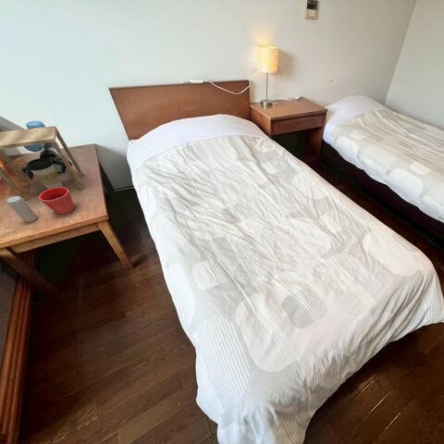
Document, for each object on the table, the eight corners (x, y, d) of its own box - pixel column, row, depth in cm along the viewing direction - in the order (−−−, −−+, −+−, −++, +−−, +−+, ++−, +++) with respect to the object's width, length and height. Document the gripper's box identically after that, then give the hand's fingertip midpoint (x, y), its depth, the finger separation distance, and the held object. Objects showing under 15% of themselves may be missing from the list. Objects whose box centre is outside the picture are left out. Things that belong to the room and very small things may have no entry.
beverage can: (32, 214, 117) (15, 194, 109) (40, 217, 116) (23, 197, 108) (21, 221, 114) (2, 200, 106) (29, 223, 113) (11, 203, 105)
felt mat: (41, 175, 140) (40, 174, 140) (43, 163, 148) (42, 162, 148) (71, 169, 146) (71, 169, 146) (72, 159, 155) (71, 158, 154)
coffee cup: (52, 194, 129) (34, 169, 119) (39, 189, 131) (20, 164, 121) (71, 184, 136) (55, 160, 126) (58, 180, 138) (41, 155, 128)
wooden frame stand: (22, 201, 123) (-24, 148, 104) (26, 184, 133) (-15, 133, 113) (84, 188, 135) (53, 138, 115) (83, 174, 144) (55, 125, 125)
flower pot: (79, 211, 121) (68, 196, 115) (50, 219, 116) (37, 203, 110) (78, 200, 127) (68, 184, 121) (51, 206, 122) (39, 190, 116)
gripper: (79, 157, 149) (79, 174, 136) (25, 166, 138) (20, 185, 126) (72, 145, 144) (72, 162, 131) (15, 154, 133) (9, 173, 120)
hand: (46, 174), depth 128 cm, fingers open, 13 cm apart
